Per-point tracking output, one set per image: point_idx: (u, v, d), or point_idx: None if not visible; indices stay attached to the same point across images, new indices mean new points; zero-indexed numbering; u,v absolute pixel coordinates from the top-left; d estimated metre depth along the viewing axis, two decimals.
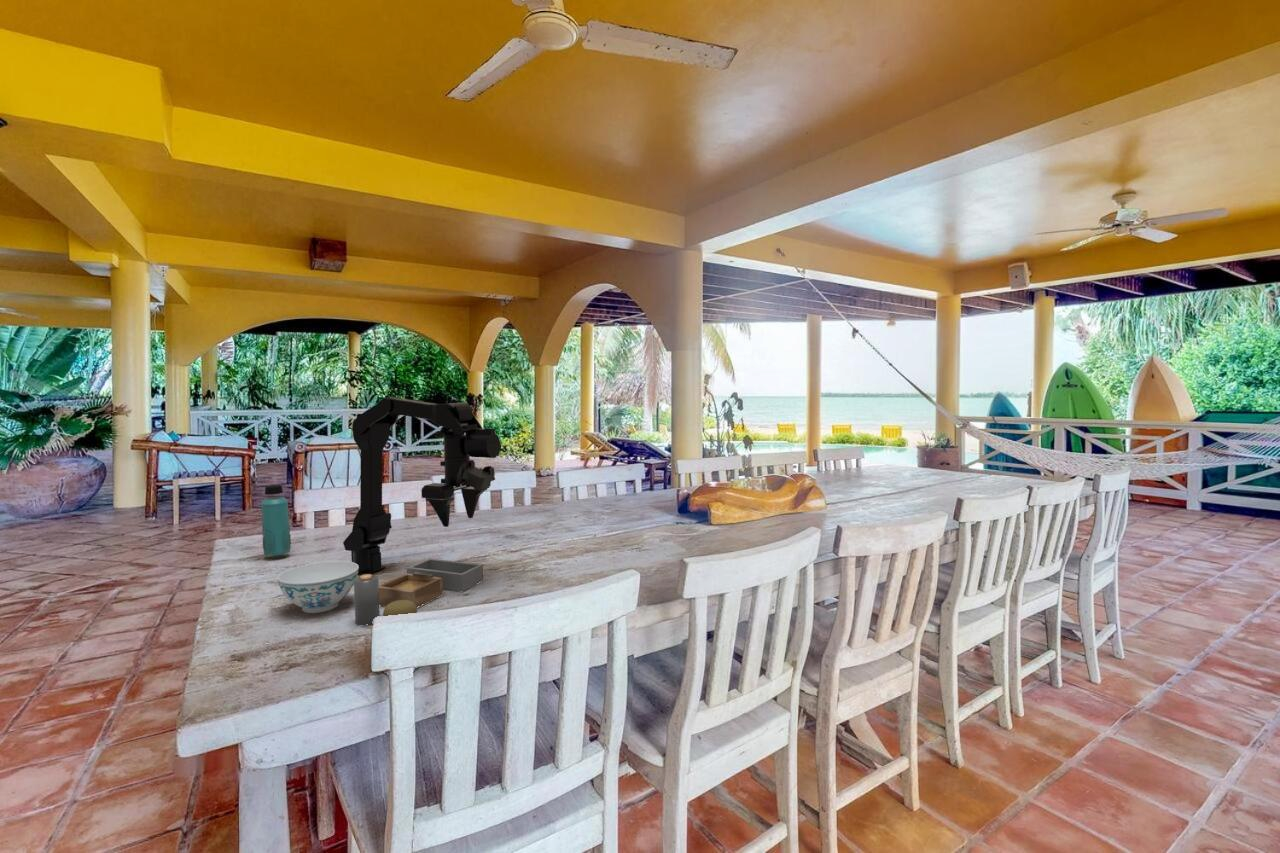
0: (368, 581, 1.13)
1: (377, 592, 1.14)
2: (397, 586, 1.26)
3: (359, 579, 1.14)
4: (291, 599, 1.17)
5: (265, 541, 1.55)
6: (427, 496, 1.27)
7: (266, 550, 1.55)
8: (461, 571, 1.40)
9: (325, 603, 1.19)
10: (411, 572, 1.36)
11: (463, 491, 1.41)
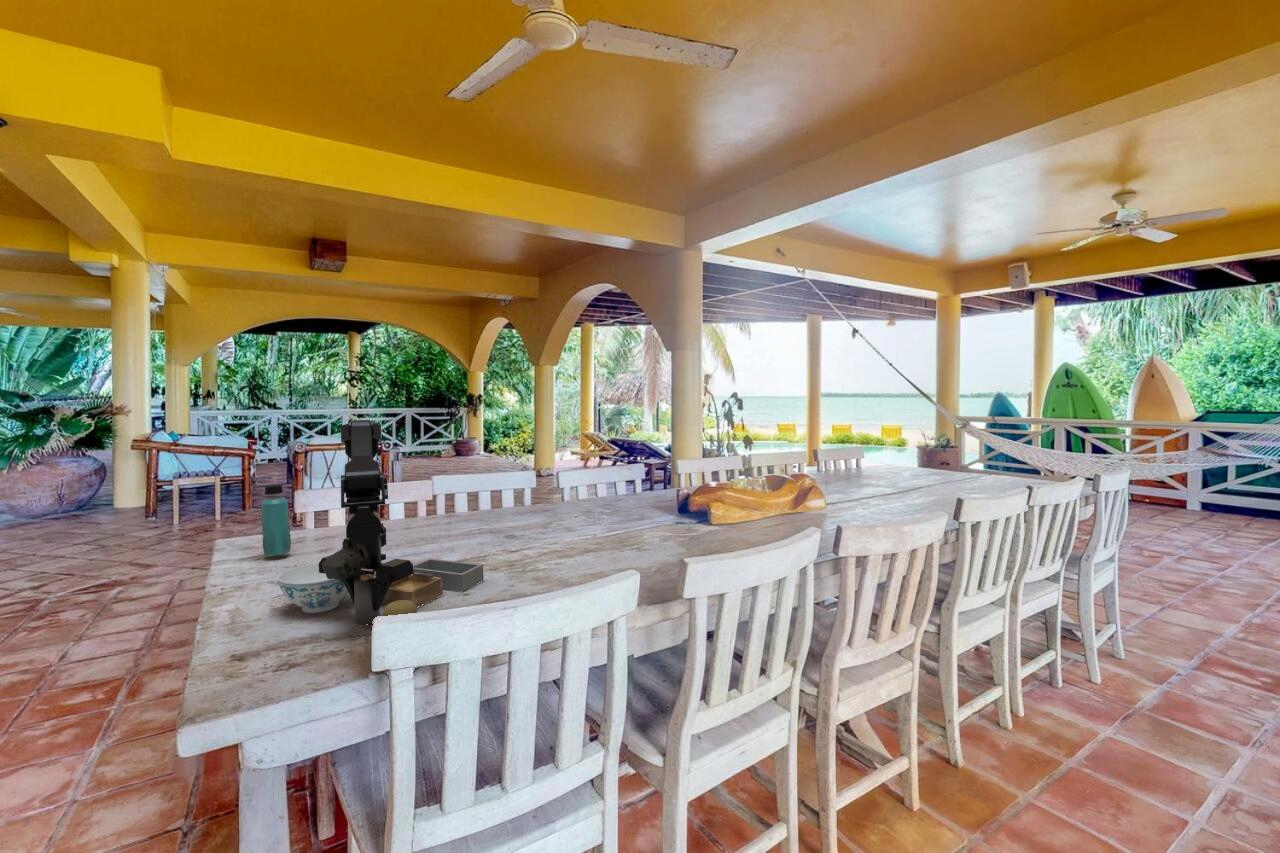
0: None
1: None
2: (397, 586, 1.26)
3: (359, 579, 1.14)
4: (291, 599, 1.17)
5: (265, 541, 1.55)
6: None
7: (266, 550, 1.55)
8: (461, 571, 1.40)
9: (325, 603, 1.19)
10: None
11: None
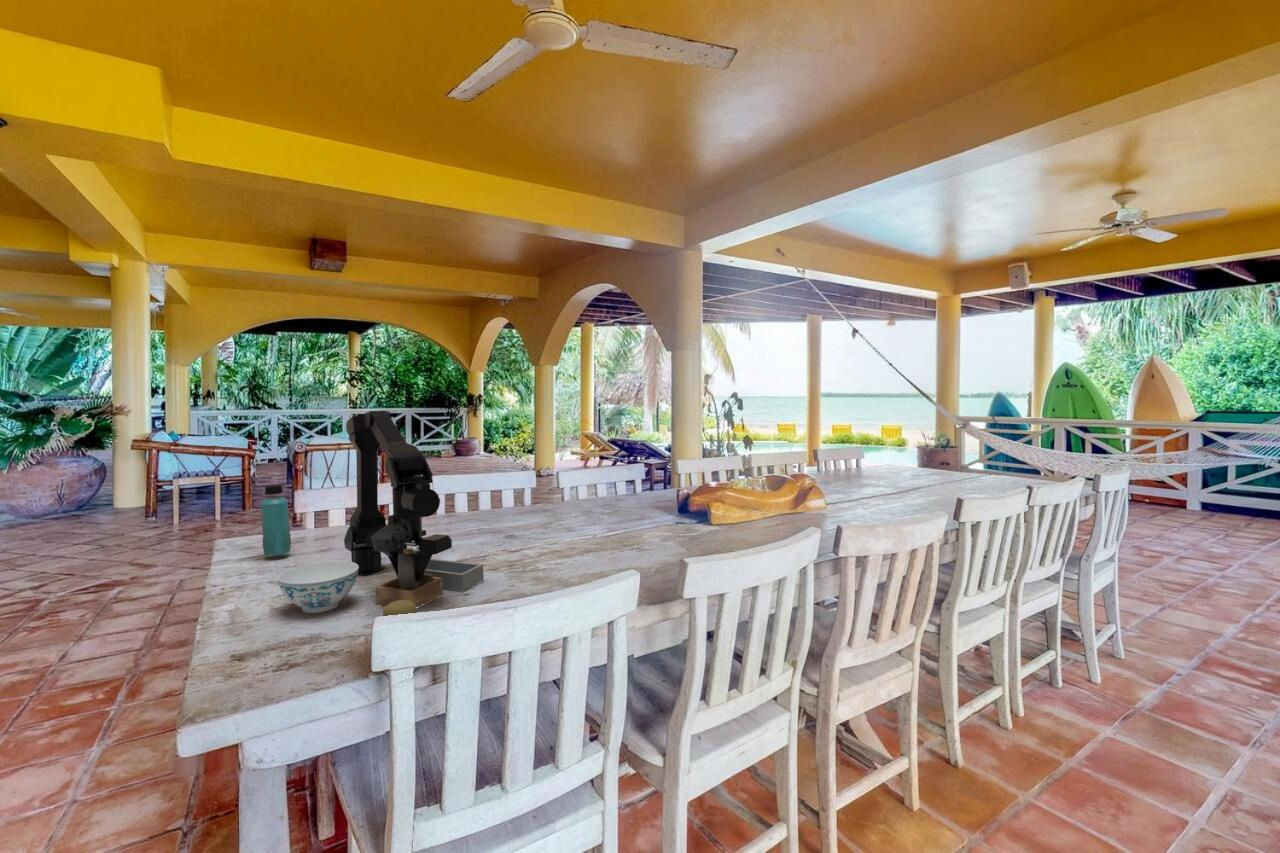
0: None
1: None
2: None
3: (403, 553, 1.25)
4: (291, 599, 1.17)
5: (265, 541, 1.55)
6: None
7: (266, 550, 1.55)
8: (461, 571, 1.40)
9: (325, 603, 1.19)
10: None
11: None
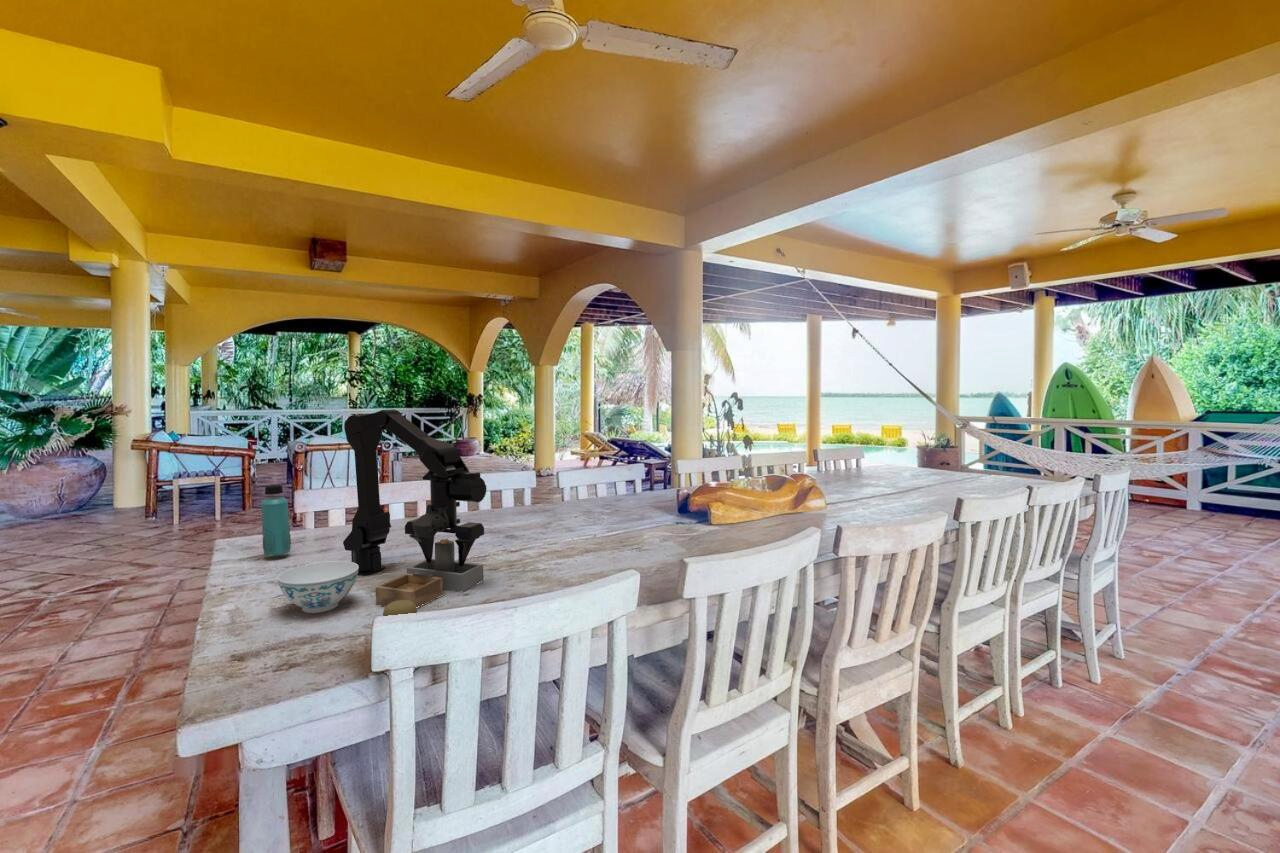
0: (447, 544, 1.36)
1: (453, 554, 1.37)
2: None
3: (439, 543, 1.36)
4: (291, 599, 1.17)
5: (265, 541, 1.55)
6: None
7: (266, 550, 1.55)
8: (461, 571, 1.40)
9: (325, 603, 1.19)
10: (411, 572, 1.36)
11: None
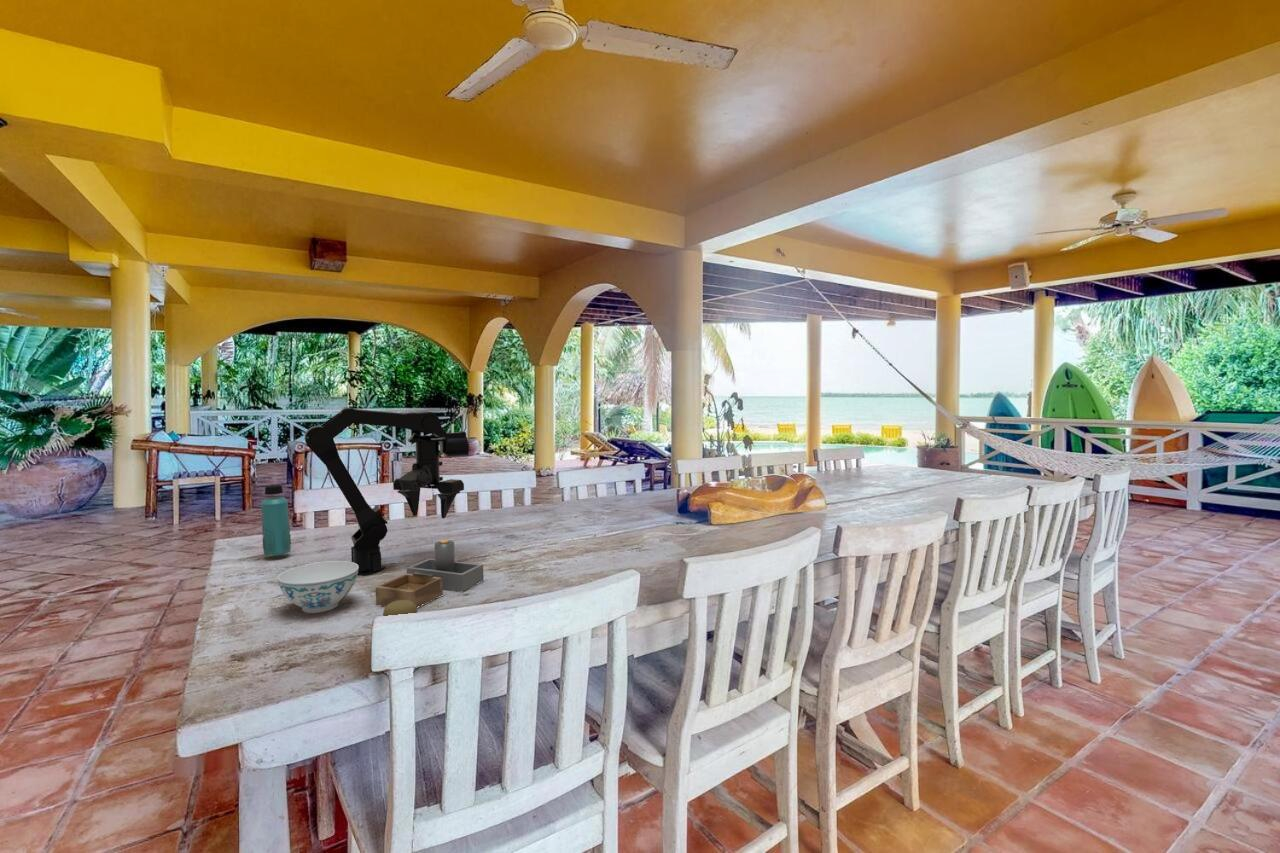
0: (447, 544, 1.36)
1: (453, 554, 1.37)
2: None
3: (439, 543, 1.36)
4: (291, 599, 1.17)
5: (265, 541, 1.55)
6: None
7: (266, 550, 1.55)
8: (461, 571, 1.40)
9: (325, 603, 1.19)
10: (411, 572, 1.36)
11: None
